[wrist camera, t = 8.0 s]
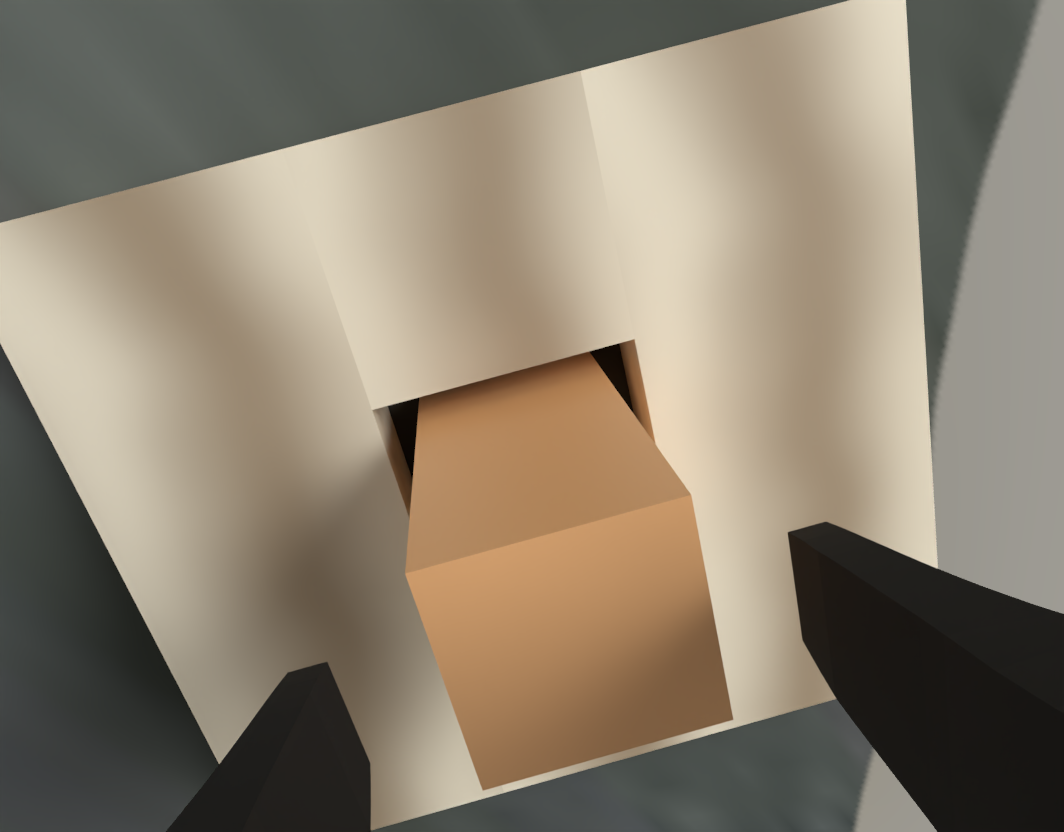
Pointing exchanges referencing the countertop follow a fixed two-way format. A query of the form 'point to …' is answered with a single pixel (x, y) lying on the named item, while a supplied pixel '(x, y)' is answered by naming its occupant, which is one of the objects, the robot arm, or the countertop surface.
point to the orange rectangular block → (558, 573)
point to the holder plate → (493, 358)
